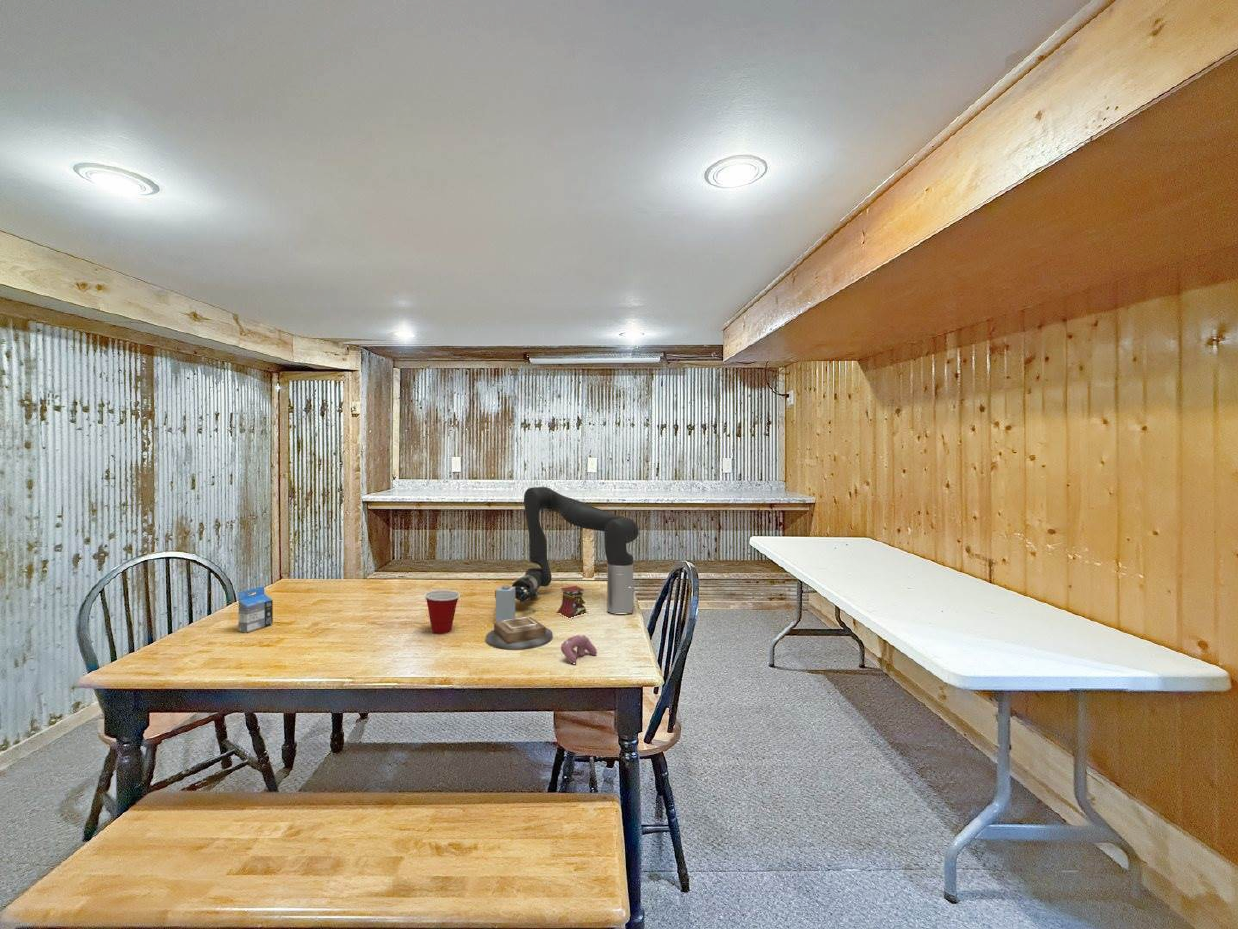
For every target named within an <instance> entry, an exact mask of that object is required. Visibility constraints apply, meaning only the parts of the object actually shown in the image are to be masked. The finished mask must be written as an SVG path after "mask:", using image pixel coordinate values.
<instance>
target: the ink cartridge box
mask: <svg viewBox="0 0 1238 929" xmlns="http://www.w3.org/2000/svg"><path fill="white" fill-rule="evenodd" d="M251 593H253V594H251ZM250 594H251V595H250ZM273 606H274V603H273V599H272V598H271V597H270V596H268V595H267V594H266V593H265V586H259V587H257V588H253V589H249V590H248V589H246V590H243V591H240V592H238V632H239V633H244V632H248V633H251V632H254V630H255V631H257V629H258V630H261V629H263V628H262V627H264V628H266V627H265V626H267V627H271V626H273V624H274V622H273V621H274V619H273V618H274V616H273V615H274V614H273V612H274V610H273ZM260 628H261V629H260Z"/></svg>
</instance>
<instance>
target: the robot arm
mask: <svg viewBox="0 0 1238 929" xmlns="http://www.w3.org/2000/svg"><path fill="white" fill-rule="evenodd" d="M523 506H524V511H525V512H524V513H525V518H526V525H527V530H528V540H529V541H528V543H529V544H528V549H529V550H528V552H529V553H528V555H529V556H528V558H529V562H531V563H533V564H537V565H538V566H539V567H540V568H539V567H538V568H537V567H536V568H534V567H532V568H528V569H526V571H525V574H524V575H523V576H521V577H520V578H518V579H517V580H515V581H514V582H513V583H512V585H511V586H510V587H515V600H517V601H520V603H524V602H526V601H528V600H529V599H530V601H533V600H536V598H537V597H538V589H539V588H541V587H543V588H544V587H549V585H551V582H552V571H551V569H550V568H551V567H550V566H549V561H548V541H547V537H546V534H545V533H544V530H543V528H542V526H541V523H540V516H539V515H540V514H539V513H540V511H551V512H554V513H558V514H559V515H560V516H561V517H562V518H563V519H564V520H565V522H567V523H568V524H571V525H573V526H576V527H578V528H581V529H585V530H592V531H600V532H604V551H605V557H606V559H607V565H606V566H607V572H606V573H607V575H606V580H607V581H606V583H607V584H606V611H607V610H608V611H609V612H611V613H632V614H633V612H634V610H633V609H634V608H635V605H634V604H635V603H634V602H635V584H634V556H633V554H630V553H628V551H627V547H628V546H627V544H631V543H632V542H634V541H635V540H637V538H638V536H639V532H640V530H639V527H638V525H637V523H636V522H635V521H634V520H633V519H632V518H629V517H625V516H621V515H617V514H614V513H613V514H612V513H610V512H607V511H605V510H603V509H600V508H598V507H596V506H593V505H590V504H588V503H586V502H583V501H581V500H577V499H575V498H572V497H569V496H564V495H562V494H560V493H558V492H557V491H555V490H553V489H551V488H550V487H546V486H536V487H535V486H533V487H528V488H527V489H526V490H525V492H524V495H523ZM496 590H497V589H496ZM496 590H494V598H495V599H496ZM632 611H633V612H632ZM611 613H610V614H611Z"/></svg>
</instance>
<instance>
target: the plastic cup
mask: <svg viewBox="0 0 1238 929" xmlns="http://www.w3.org/2000/svg"><path fill="white" fill-rule="evenodd" d="M460 597H461V594H460V592H458V591H455V590H452V589H451V590H450V589H449V590H448V589H435V590H430V591H428V592H425V593H424V598H425V600H426V603H427V609H428V614H429V615H428V617H429V621H430V627H431V631H432V633H433V634H438V635H439V634H440V635H441V634H447V633H450V632H452V628H453V624H454V618H455V614H456V608H457V604H458V600H459V598H460Z"/></svg>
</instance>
